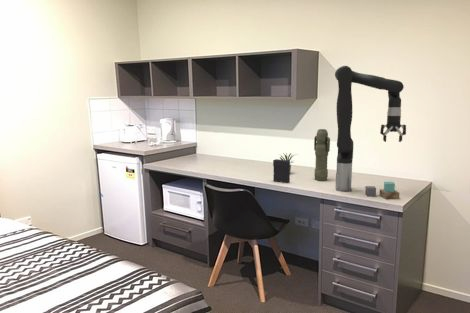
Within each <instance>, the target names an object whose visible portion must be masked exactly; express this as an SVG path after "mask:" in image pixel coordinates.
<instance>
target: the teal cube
mask: <svg viewBox="0 0 470 313" xmlns="http://www.w3.org/2000/svg"><path fill="white" fill-rule="evenodd" d="M395 186H396V185H395V182H394V181H384V182H383V189H384V191H385V192H394V190H395Z"/></svg>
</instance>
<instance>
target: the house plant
mask: <svg viewBox="0 0 470 313" xmlns="http://www.w3.org/2000/svg"><path fill="white" fill-rule="evenodd" d="M285 153H286V154H285ZM285 153H284V152H283V153H282V154H283V155H281V154H279V153H278V154H279V160H288V161H290V172H291V170H292V165H291V164H293V163H295V161H293V160H292V158H293V157H294V156H297V155H298V153H297V154H294V155H293V154H292V153H291V152H290V153H289V154H288V153H287V152H285ZM298 156H299V155H298Z"/></svg>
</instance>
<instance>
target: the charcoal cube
mask: <svg viewBox="0 0 470 313" xmlns="http://www.w3.org/2000/svg"><path fill="white" fill-rule="evenodd" d="M364 193H365V194H364V195H365V196H366V197H377V187H376V186H375V185H374V186H373V185H365V192H364Z"/></svg>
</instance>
